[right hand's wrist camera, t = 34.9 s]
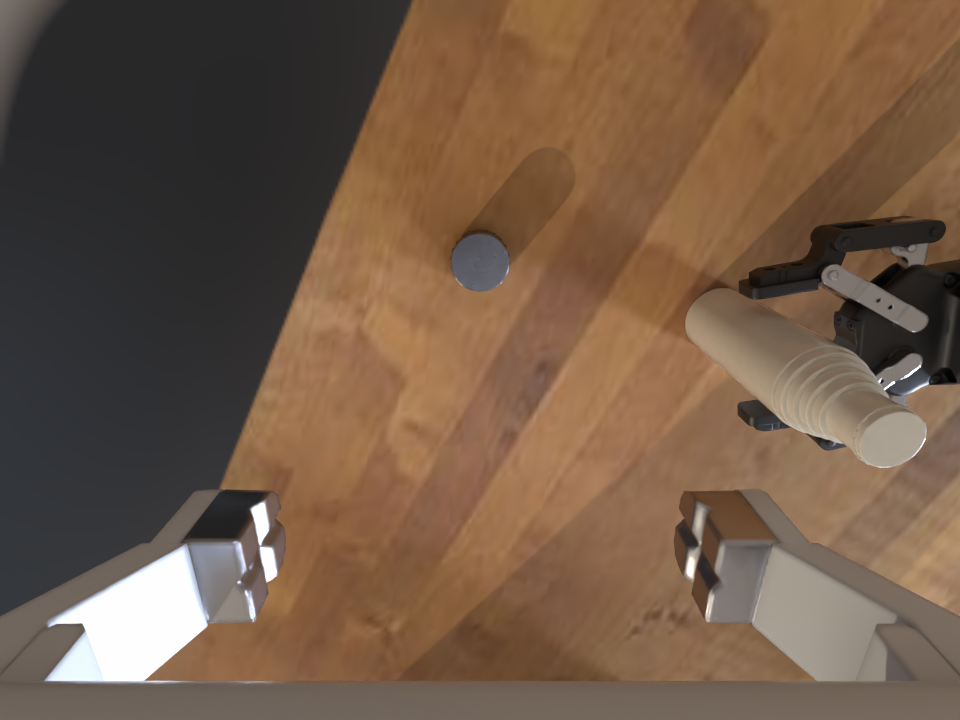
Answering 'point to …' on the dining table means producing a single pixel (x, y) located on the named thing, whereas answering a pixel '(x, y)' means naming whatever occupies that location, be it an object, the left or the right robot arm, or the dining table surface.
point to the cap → (480, 260)
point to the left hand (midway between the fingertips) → (743, 355)
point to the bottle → (804, 377)
